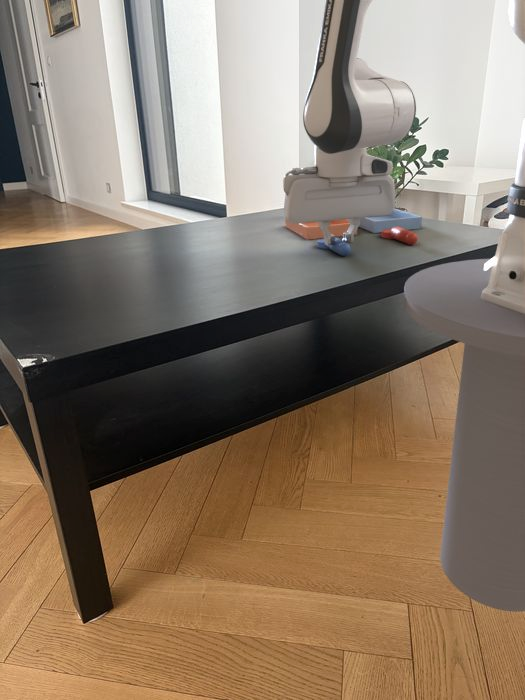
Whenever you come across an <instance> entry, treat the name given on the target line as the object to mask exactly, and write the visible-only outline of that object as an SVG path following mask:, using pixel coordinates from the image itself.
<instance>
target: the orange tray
mask: <svg viewBox="0 0 525 700" xmlns="http://www.w3.org/2000/svg"><path fill="white" fill-rule="evenodd" d="M284 221H285V224H284V225H285V228H287V229H289V230H290V231H292V232H294V233H295V234H297V235H299V236H300V237H302V238H304V239H305V240H308V241H309V240H316V239H317V240H319V239H325V235H324V234H323V232H322V230H321V229H320V227H319V222H310V223H299V224H292V223H290V222H288V221H287V220H286V219H285V218H284ZM350 224H351V223H349V222H348V219H343V220H332V221H330V227H327V229H328V230H329V232H330V234H333V235H335V237H336V238H338V237H343V233H346V232H347V230H348V228H349V226H350ZM357 235H358V229H357V230H356V232H355V233H354V236H357Z"/></svg>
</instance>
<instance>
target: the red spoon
mask: <svg viewBox="0 0 525 700" xmlns="http://www.w3.org/2000/svg"><path fill="white" fill-rule="evenodd" d="M380 233H381V234H380V235H381V238H383V239H387V240H396V241H399V242H402V243H404V244H406V245H409V246H413V245H415V244H416V243H417V242H418V240H419V236H418V234H417V233H416V232H414V231H410V230H406V229H403V228H400V227H394V228H392V229H385V230H382V232H380Z"/></svg>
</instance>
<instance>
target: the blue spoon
mask: <svg viewBox="0 0 525 700" xmlns="http://www.w3.org/2000/svg"><path fill="white" fill-rule="evenodd" d="M317 248H318V249H322V250H331V251H332V252H334V253H336V254H337V255H339V256H341V257H346V256H348V255H350V254H351V250H352V249H351V245H350V243H349V244H348V243H346V242H344V241H343V239H341V238H340V239H339V238H338V237H335V245H330V246H327V245H325V238H319V239H317Z"/></svg>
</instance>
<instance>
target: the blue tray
mask: <svg viewBox="0 0 525 700" xmlns="http://www.w3.org/2000/svg"><path fill="white" fill-rule="evenodd" d="M422 225H423V217H422V216H421V215H418V214H414V213H411V212H408V211H405V210H402V209H397V208H394V210H393V212H392V213H391V214H390V215H387V216H376V217H365V218H360V225H359V226H358V228H361V229H364V230H366V231H367V232H371V233H373V234H378V233H382V230H385V229H392V228H394V227H400V228H403V229H406V230H408V231H410V230H419V229H422Z"/></svg>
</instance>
